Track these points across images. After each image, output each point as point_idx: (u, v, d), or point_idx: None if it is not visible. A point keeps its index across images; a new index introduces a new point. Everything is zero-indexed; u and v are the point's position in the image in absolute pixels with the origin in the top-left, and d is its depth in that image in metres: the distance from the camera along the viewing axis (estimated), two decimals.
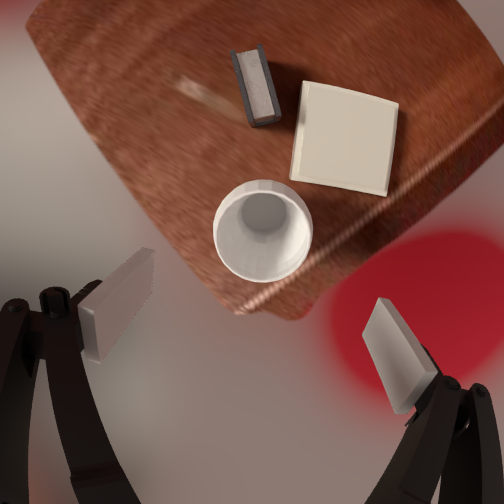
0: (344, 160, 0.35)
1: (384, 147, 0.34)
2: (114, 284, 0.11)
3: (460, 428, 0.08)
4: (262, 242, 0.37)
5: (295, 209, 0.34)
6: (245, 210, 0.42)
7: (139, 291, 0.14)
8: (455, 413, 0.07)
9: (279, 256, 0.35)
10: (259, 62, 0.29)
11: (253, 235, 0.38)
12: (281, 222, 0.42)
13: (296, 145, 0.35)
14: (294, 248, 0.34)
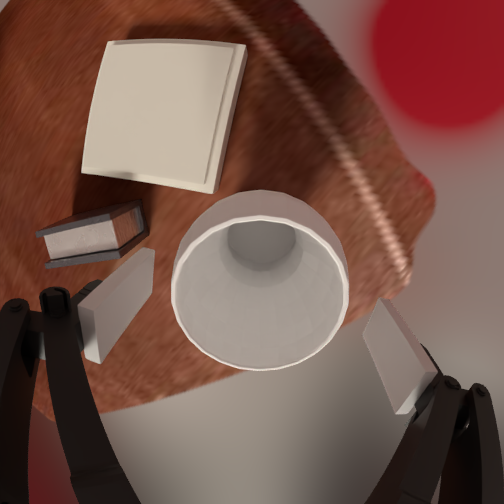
0: (182, 112, 0.21)
1: (164, 52, 0.19)
2: (114, 284, 0.11)
3: (460, 428, 0.08)
4: (301, 253, 0.23)
5: None
6: (261, 256, 0.29)
7: (139, 291, 0.14)
8: (455, 413, 0.07)
9: None
10: (56, 234, 0.23)
11: (292, 261, 0.25)
12: None
13: (162, 183, 0.24)
14: None
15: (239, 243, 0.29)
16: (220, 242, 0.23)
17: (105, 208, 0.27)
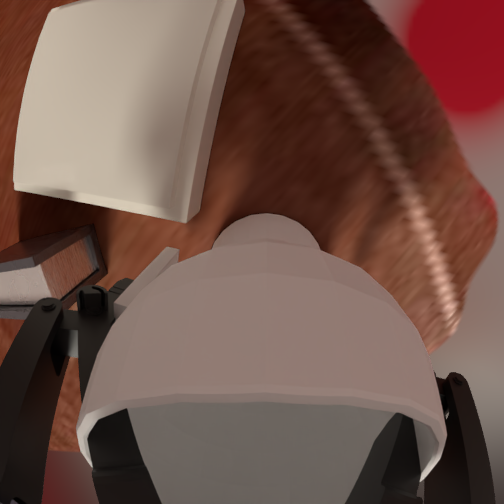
0: (135, 90, 0.12)
1: (116, 7, 0.10)
2: (146, 282, 0.12)
3: None
4: None
5: None
6: None
7: None
8: None
9: None
10: None
11: None
12: None
13: (111, 205, 0.15)
14: None
15: None
16: None
17: (47, 237, 0.17)
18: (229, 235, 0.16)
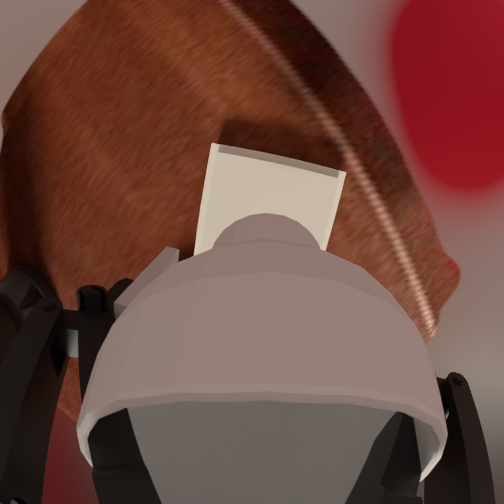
0: None
1: (277, 173, 0.27)
2: (146, 282, 0.12)
3: None
4: None
5: None
6: None
7: None
8: None
9: None
10: None
11: None
12: None
13: None
14: None
15: None
16: None
17: None
18: (229, 235, 0.16)
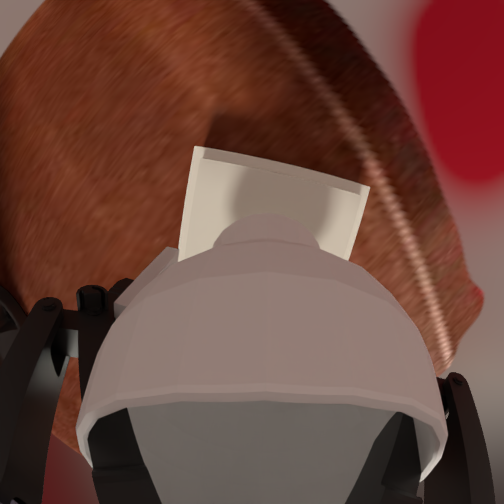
0: None
1: (282, 188, 0.20)
2: (146, 282, 0.12)
3: None
4: None
5: None
6: None
7: None
8: None
9: None
10: None
11: None
12: None
13: None
14: None
15: None
16: None
17: None
18: (229, 234, 0.16)
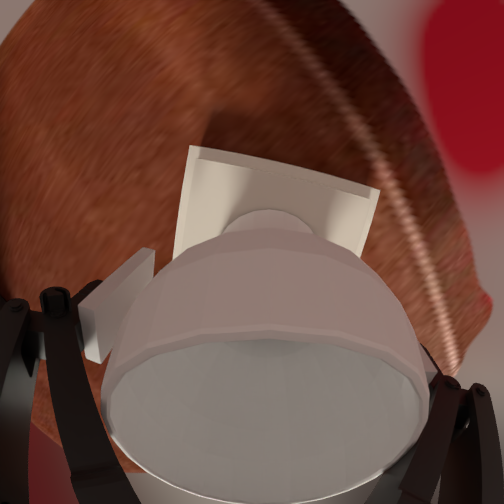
0: None
1: (285, 191, 0.19)
2: (114, 284, 0.11)
3: (459, 428, 0.08)
4: None
5: None
6: None
7: (139, 291, 0.14)
8: (455, 413, 0.07)
9: None
10: None
11: None
12: None
13: None
14: None
15: None
16: None
17: None
18: (234, 229, 0.18)
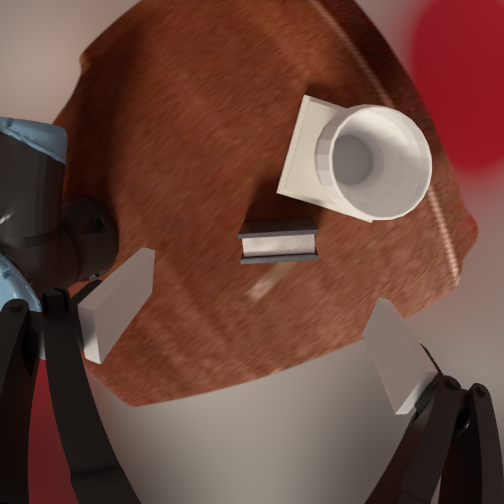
0: None
1: None
2: (114, 284, 0.11)
3: (460, 428, 0.08)
4: (382, 168, 0.29)
5: (352, 122, 0.26)
6: (342, 180, 0.35)
7: (139, 291, 0.14)
8: (455, 413, 0.07)
9: (401, 152, 0.25)
10: (257, 237, 0.37)
11: (373, 176, 0.30)
12: (361, 144, 0.33)
13: (341, 211, 0.38)
14: (396, 133, 0.24)
15: None
16: None
17: (287, 221, 0.40)
18: None
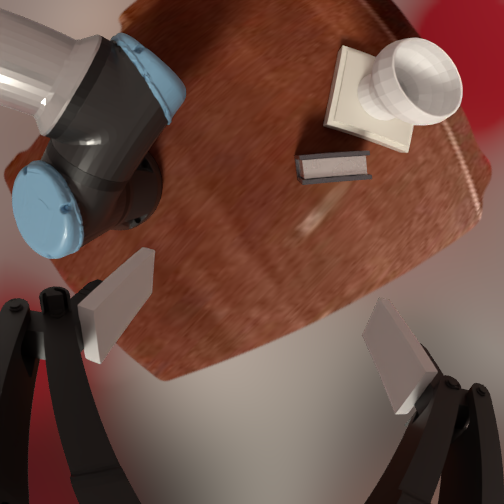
0: None
1: None
2: (114, 284, 0.11)
3: (460, 428, 0.08)
4: (417, 97, 0.29)
5: None
6: None
7: (139, 291, 0.14)
8: (455, 413, 0.07)
9: (433, 81, 0.25)
10: (316, 160, 0.37)
11: None
12: None
13: (383, 142, 0.38)
14: (427, 67, 0.24)
15: None
16: None
17: None
18: (371, 74, 0.32)
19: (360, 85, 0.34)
